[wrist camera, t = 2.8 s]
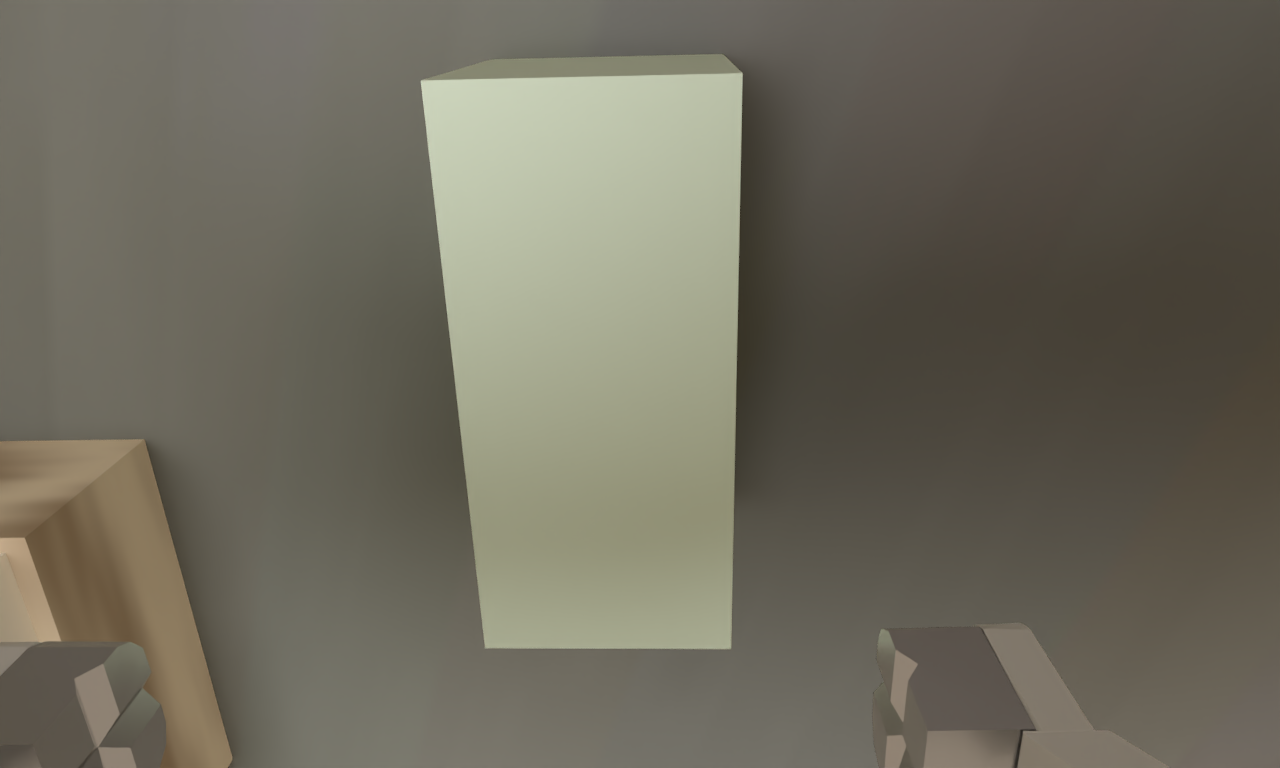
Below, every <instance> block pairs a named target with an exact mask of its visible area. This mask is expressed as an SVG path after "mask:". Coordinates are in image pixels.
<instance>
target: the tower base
mask: <svg viewBox="0 0 1280 768" xmlns="http://www.w3.org/2000/svg"><path fill="white" fill-rule="evenodd" d="M0 553H6V555H7V558H8V560H9V563H10V566H11V569H12V571H13V574H14V577H15V579H16V582H17V585H18V587H19V590H20V593H21V595H22V598H23V601H24V603H25V606H26V609H27V612H28V614H29V617H30V620H31V622H32V625H33V628H34V630H35V633H36V636H37V638H38V641H39V642H45V641H89V642H132V643H134V644H136V645H138V646H141V647H143V649H144V652H145V655H146V658H147V660H148V663H149V666H150V669H151V674H150V676H149V678H148V679H147V681H146V683H145V685H144V687H143V689H144V690H145V691H146V692H147V693H149V694H150V695H151V696H152V697H153V698H154V699H156V700H157V701H158V702H159V703H160V704H161V706H162V709H163V713H164V717H165V720H166V747H165V751H164V754H163V758H162V761H161V765H160V768H228V766H229V765H230V763H231V761H232V759H233V758H232V754H231V751H230V747H229V743H228V740H227V736H226V733H225V729H224V725H223V722H222V718H221V714H220V711H219V707H218V704H217V700H216V696H215V693H214V689H213V686H212V682H211V678H210V675H209V671H208V667H207V664H206V660H205V657H204V653H203V649H202V646H201V642H200V639H199V635H198V631H197V628H196V624H195V620H194V617H193V613H192V610H191V606H190V602H189V599H188V595H187V591H186V588H185V584H184V581H183V577H182V573H181V570H180V566H179V563H178V559H177V555H176V552H175V548H174V544H173V541H172V537H171V534H170V530H169V526H168V523H167V519H166V516H165V512H164V508H163V505H162V501H161V497H160V494H159V490H158V487H157V483H156V479H155V476H154V472H153V469H152V465H151V461H150V458H149V454H148V450H147V447H146V443H145V440H144V439H130V440H57V441H0Z"/></svg>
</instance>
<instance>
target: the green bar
mask: <svg viewBox="0 0 1280 768" xmlns="http://www.w3.org/2000/svg"><path fill="white" fill-rule="evenodd" d="M742 80H743V73H742V72H741V71H740V70H739V69H738V68H737V67H736V66H735V65H734V64H733V63H732V62H731V61H730V60H729V59H728V58H727V57H726V56H725V55H723V54H699V55H656V56H613V57H570V58H528V59H491V60H487V61H484V62H481V63H477V64H474V65H471V66H467V67H464V68H461V69H457V70H454V71H451V72H447V73H444V74H441V75H437V76H434V77H431V78H427V79H424V80H421V87H422V96H423V105H424V113H425V122H426V131H427V140H428V149H429V157H430V166H431V175H432V184H433V193H434V202H435V210H436V219H437V228H438V237H439V246H440V254H441V263H442V272H443V281H444V290H445V299H446V307H447V316H448V325H449V334H450V343H451V351H452V360H453V369H454V378H455V387H456V396H457V404H458V413H459V422H460V431H461V440H462V448H463V457H464V466H465V475H466V484H467V492H468V501H469V510H470V519H471V528H472V537H473V545H474V554H475V563H476V572H477V581H478V589H479V598H480V607H481V616H482V625H483V634H484V642H485V648H555V649H731V626H732V576H733V527H734V477H735V427H736V378H737V328H738V278H739V229H740V179H741V129H742Z"/></svg>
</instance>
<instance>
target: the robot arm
mask: <svg viewBox="0 0 1280 768" xmlns="http://www.w3.org/2000/svg"><path fill="white" fill-rule="evenodd" d="M876 660H877V663H878V666H879V669H880V672H881V675H882V678H883V681H884V682H883V683H882V684H881V685H880V686H879V687H878V688H877V689H876V690H875V691H874V692H873V709H872V724H873V739H874V747H875V752H876V757H877V762H878V766H879V768H1170V767H1168V766H1167V765H1165V764H1164V763H1162V762H1160V761H1159V760H1157V759H1155V758H1154V757H1152V756H1151V755H1149V754H1147V753H1146V752H1144V751H1142V750H1141V749H1139V748H1137V747H1136V746H1134V745H1133V744H1131V743H1129V742H1128V741H1126V740H1124V739H1123V738H1121V737H1120V736H1118V735H1116V734H1115V733H1113V732H1111V731H1110V730H1094V729H1093V727H1092V725H1091V724H1090V722H1089V721H1088V719H1087V718H1086V716H1085V714H1084V713H1083V711H1082V710H1081V708H1080V707H1079V705H1078V703H1077V702H1076V700H1075V699H1074V697H1073V696H1072V694H1071V692H1070V691H1069V689H1068V688H1067V686H1066V685H1065V683H1064V681H1063V680H1062V678H1061V677H1060V675H1059V674H1058V672H1057V671H1056V669H1055V667H1054V666H1053V664H1052V663H1051V661H1050V660H1049V658H1048V656H1047V655H1046V653H1045V652H1044V650H1043V649H1042V647H1041V645H1040V644H1039V642H1038V641H1037V639H1036V638H1035V636H1034V634H1033V633H1032V631H1031V630H1030V628H1029V627H1027V626H1025V625H1024V624H1022V623H1004V624H982V625H974V627H928V628H884V629H881V632H880V635H879V638H878V645H877V656H876ZM150 674H151V669H150V666H149V663H148V660H147V658H146V655H145V652H144V649H143V647H141V646H138V645H136V644H134V643H132V642H89V641H45V642H0V768H160V765H161V761H162V758H163V754H164V751H165V747H166V720H165V717H164V713H163V709H162V706H161V704H160V703H159V702H158V701H157V700H156V699H154V698H153V697H152V696H151V695H150V694H149V693H147V692H146V691H145V690H144V689H143V687H144V685H145V683H146V681H147V679H148V678H149V676H150Z"/></svg>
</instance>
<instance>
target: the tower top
mask: <svg viewBox="0 0 1280 768" xmlns="http://www.w3.org/2000/svg"><path fill="white" fill-rule="evenodd" d="M0 642H39V641H38V638H37V636H36V633H35V630H34V628H33V625H32V622H31V620H30V617H29V614H28V612H27V609H26V606H25V603H24V601H23V598H22V595H21V593H20V590H19V587H18V585H17V582H16V579H15V577H14V574H13V571H12V569H11V566H10V563H9V560H8V558H7V555H6V553H0Z"/></svg>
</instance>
